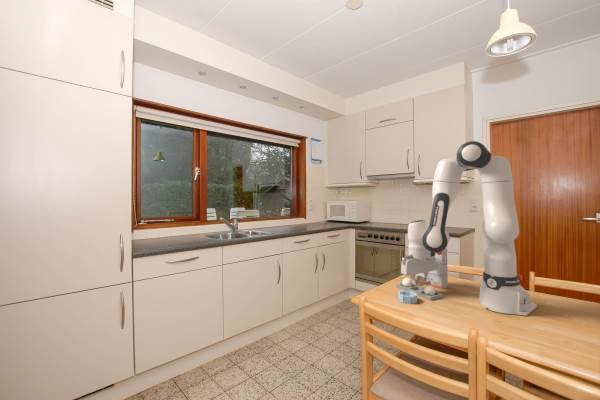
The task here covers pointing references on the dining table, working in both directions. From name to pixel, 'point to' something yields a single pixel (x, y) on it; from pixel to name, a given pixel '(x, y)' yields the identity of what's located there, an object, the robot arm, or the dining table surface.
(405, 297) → the egg cup
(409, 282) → the cream egg
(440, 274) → the cracker box
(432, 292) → the cream egg
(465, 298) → the dining table surface
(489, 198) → the robot arm
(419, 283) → the brown egg
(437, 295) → the carton
